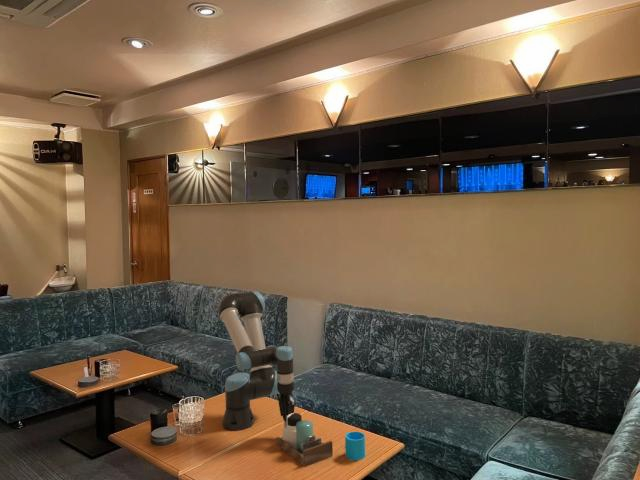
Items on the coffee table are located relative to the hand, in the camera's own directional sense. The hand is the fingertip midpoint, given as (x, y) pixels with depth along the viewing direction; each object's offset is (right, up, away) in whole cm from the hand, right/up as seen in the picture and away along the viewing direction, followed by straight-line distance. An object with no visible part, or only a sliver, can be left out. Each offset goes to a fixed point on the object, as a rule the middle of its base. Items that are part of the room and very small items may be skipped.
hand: (287, 433), depth 207 cm
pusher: (+11, -2, -17) cm, 20 cm away
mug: (+30, -2, -16) cm, 34 cm away
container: (+4, -2, -7) cm, 8 cm away
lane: (+7, -2, -12) cm, 14 cm away
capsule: (+8, -2, -14) cm, 16 cm away
